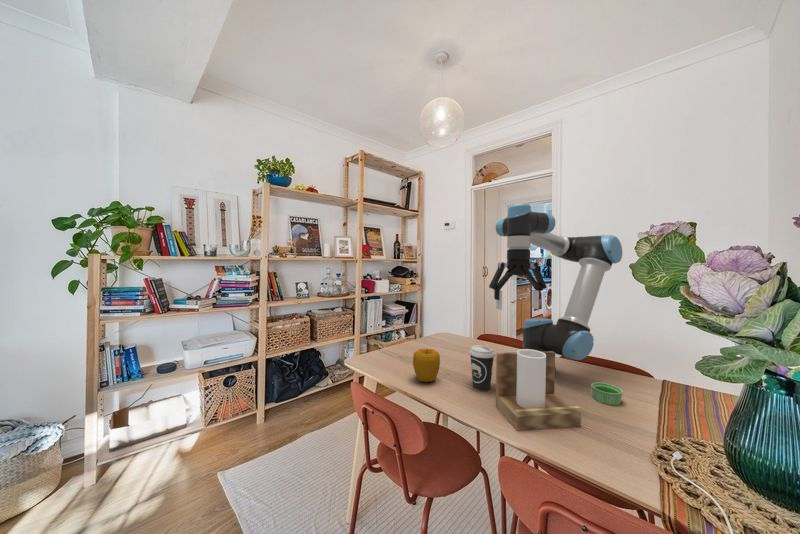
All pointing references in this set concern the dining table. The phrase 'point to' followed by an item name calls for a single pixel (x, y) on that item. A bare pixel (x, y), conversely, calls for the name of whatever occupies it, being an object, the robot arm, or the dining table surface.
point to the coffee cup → (481, 366)
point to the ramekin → (606, 393)
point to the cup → (531, 379)
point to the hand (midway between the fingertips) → (517, 308)
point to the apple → (426, 364)
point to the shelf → (527, 419)
